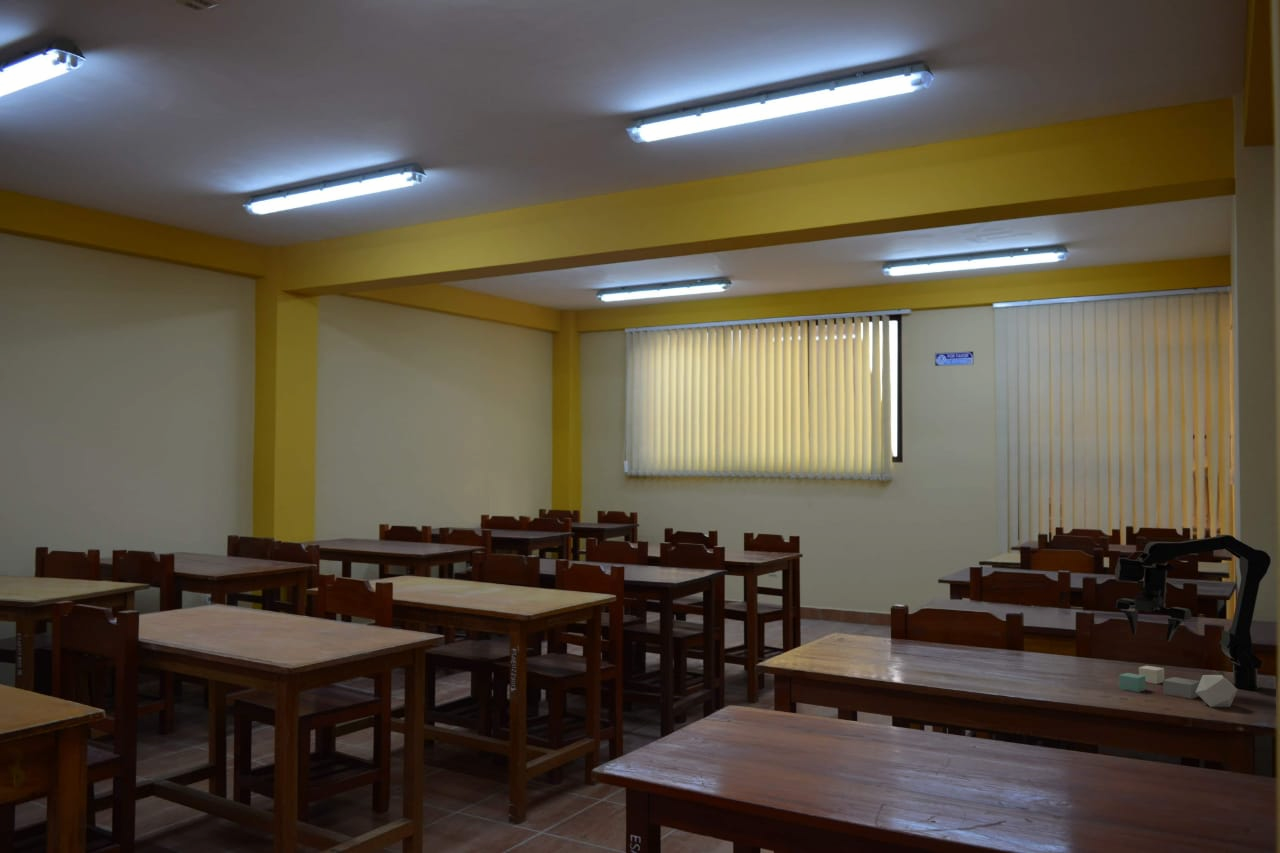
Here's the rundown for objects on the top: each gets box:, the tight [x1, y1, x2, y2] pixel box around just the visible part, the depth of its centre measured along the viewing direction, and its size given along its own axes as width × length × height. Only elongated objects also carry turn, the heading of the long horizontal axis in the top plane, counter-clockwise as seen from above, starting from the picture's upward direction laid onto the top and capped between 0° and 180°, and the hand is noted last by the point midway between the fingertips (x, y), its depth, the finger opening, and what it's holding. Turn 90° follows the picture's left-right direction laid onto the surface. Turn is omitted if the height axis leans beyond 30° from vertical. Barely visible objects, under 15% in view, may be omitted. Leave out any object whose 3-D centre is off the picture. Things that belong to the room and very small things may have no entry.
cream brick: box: [1138, 665, 1165, 685], centre depth 270 cm, size 5×5×4 cm
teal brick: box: [1118, 672, 1147, 693], centre depth 260 cm, size 5×5×4 cm
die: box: [1196, 674, 1239, 708], centre depth 242 cm, size 8×9×10 cm
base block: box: [1162, 676, 1200, 700], centre depth 254 cm, size 7×7×4 cm
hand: (1151, 638), depth 270 cm, fingers open, 9 cm apart
